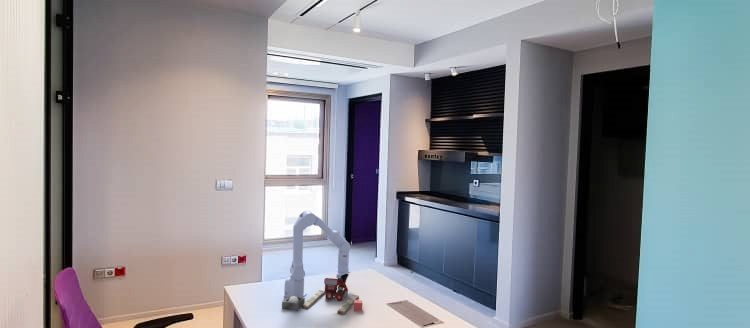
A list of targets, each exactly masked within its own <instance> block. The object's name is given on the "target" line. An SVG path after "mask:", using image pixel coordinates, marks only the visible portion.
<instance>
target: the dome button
mask: <svg viewBox="0 0 750 328" xmlns="http://www.w3.org/2000/svg"><path fill="white" fill-rule="evenodd" d="M298 301H299V300H298V298H297V297H296V296H292V297H290V299H289V301H288V302H294V303H297V302H298Z"/></svg>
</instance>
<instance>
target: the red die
mask: <svg viewBox="0 0 750 328" xmlns="http://www.w3.org/2000/svg"><path fill="white" fill-rule="evenodd" d="M352 306H353V312H363V299H357V300H354V304H353V305H352Z"/></svg>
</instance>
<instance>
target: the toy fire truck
mask: <svg viewBox="0 0 750 328" xmlns="http://www.w3.org/2000/svg"><path fill="white" fill-rule="evenodd" d="M323 283H324V291H325V294H324V296H325V299H326V301H332V300H333V299H334V298H335V300H336V301H337V302H341V301H343V300H344V298H347V297H348V295H349V289H348V286H347V283H345V282H343V279H340V280H338V278H333V277H330V278H329V277H325V278H324V281H323Z"/></svg>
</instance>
